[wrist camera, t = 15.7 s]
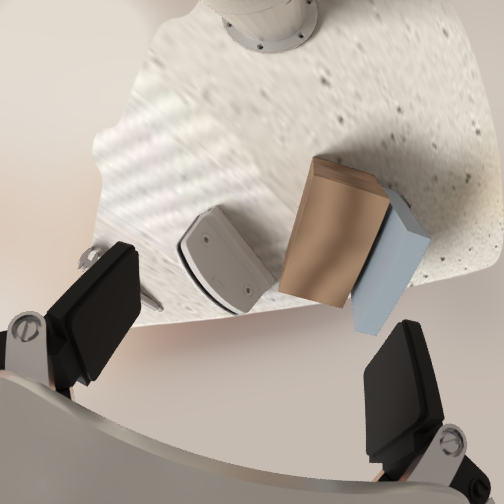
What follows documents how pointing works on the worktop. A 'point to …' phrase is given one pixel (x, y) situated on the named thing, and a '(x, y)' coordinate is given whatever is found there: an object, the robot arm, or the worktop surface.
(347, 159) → the worktop surface
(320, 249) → the cabinet
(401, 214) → the door
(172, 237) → the worktop surface
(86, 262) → the caliper
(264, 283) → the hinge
